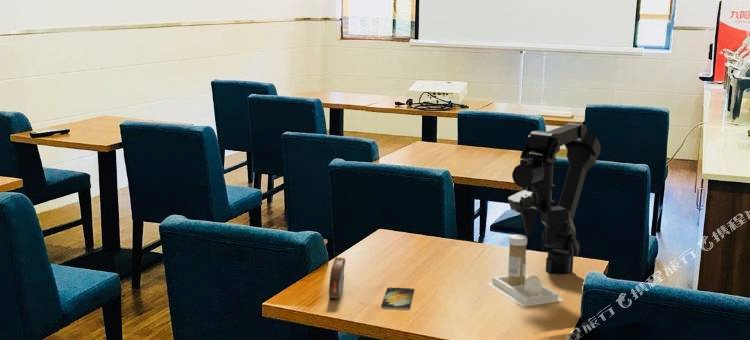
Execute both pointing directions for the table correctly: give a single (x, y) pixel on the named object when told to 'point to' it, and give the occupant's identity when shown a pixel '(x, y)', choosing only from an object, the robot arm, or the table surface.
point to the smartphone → (398, 298)
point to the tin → (336, 278)
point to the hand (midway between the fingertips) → (538, 239)
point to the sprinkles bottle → (517, 260)
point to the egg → (533, 286)
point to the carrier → (523, 292)
